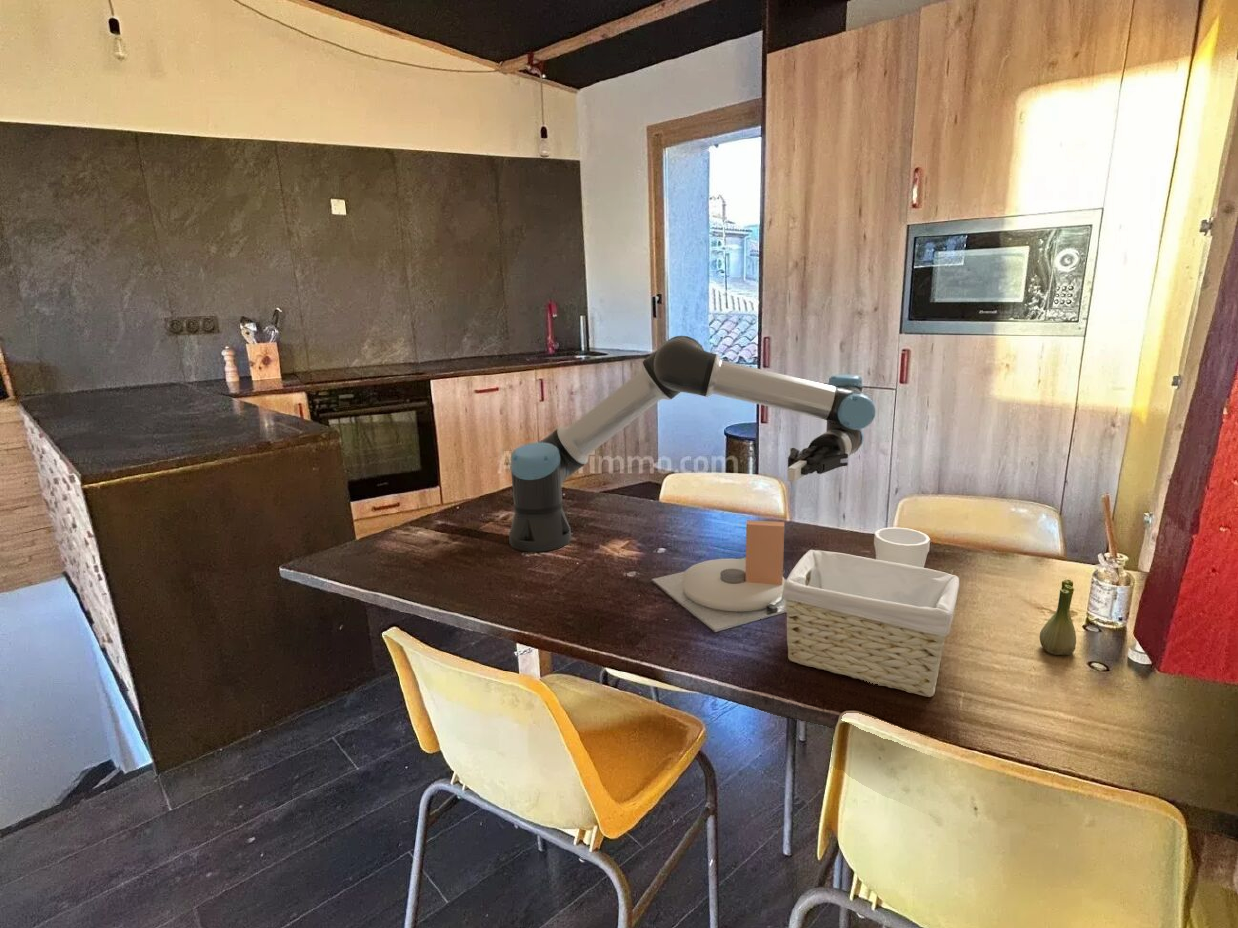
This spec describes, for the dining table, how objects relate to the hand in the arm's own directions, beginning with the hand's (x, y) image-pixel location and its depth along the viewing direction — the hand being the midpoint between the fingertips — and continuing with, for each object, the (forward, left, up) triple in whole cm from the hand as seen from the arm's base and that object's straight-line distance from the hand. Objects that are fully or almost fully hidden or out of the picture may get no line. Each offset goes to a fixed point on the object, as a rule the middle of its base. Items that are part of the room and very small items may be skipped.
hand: (791, 474), depth 130 cm
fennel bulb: (+43, +20, -23) cm, 52 cm away
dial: (0, -13, -22) cm, 26 cm away
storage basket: (+30, -9, -23) cm, 39 cm away
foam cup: (+18, +12, -23) cm, 31 cm away
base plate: (0, -13, -22) cm, 26 cm away
